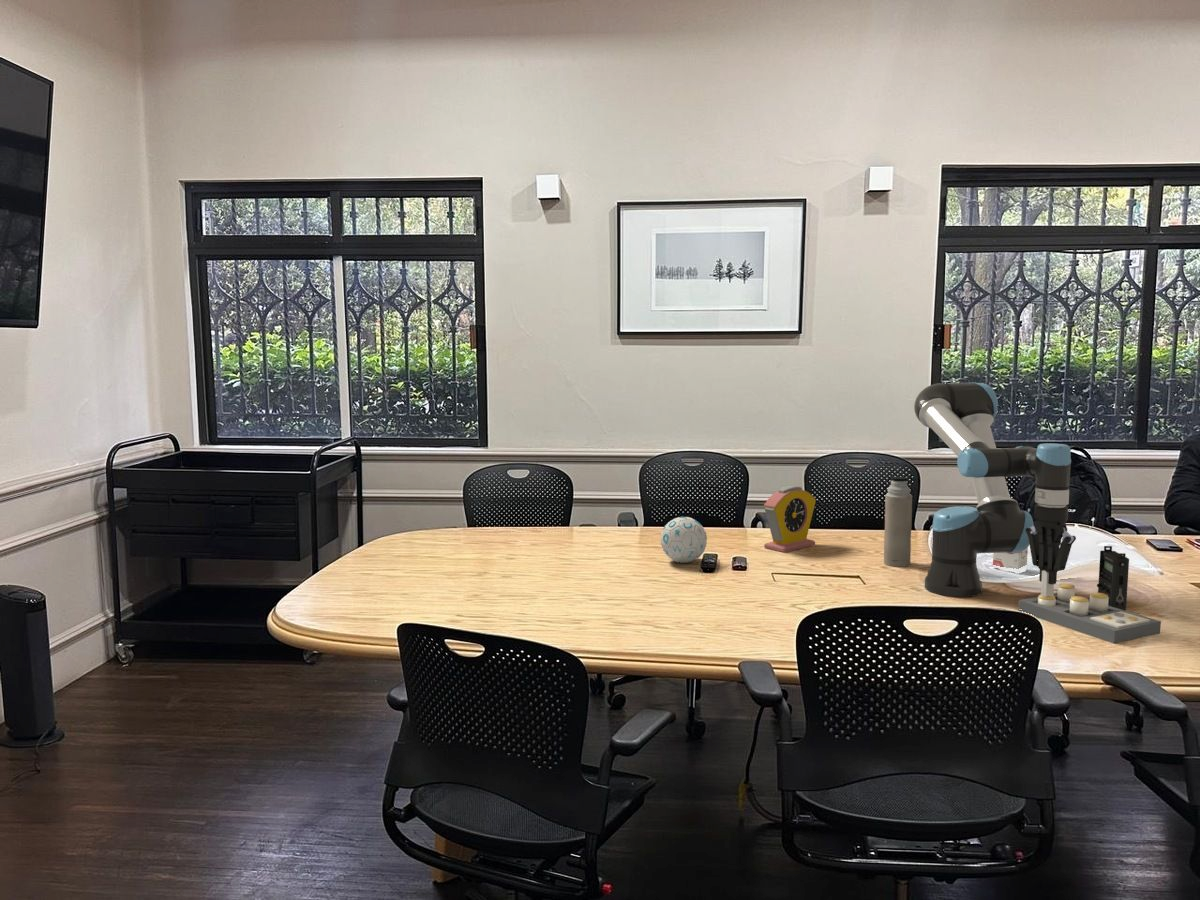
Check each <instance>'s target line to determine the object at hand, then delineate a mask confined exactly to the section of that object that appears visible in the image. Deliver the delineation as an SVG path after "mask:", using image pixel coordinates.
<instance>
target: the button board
mask: <svg viewBox="0 0 1200 900" xmlns="http://www.w3.org/2000/svg"><path fill="white" fill-rule="evenodd" d="M1053 596H1055V599H1056V604H1055V606H1050V607H1047V606H1044V605H1041V604H1038V597H1039V596H1036V597H1029V598H1024V599H1023V598H1022V599H1019V600H1018V612H1019V611H1023V612H1026V613H1029V614H1032V615H1034V616H1036V617H1035V618H1037V619H1040V620H1043V621H1046V622H1049V623H1052V624H1055V625H1058V626H1061V627H1063V628H1064V627H1065V628H1067V629H1069V630H1073V631H1076V632H1079V633H1082V634H1085V635H1088V636H1090V637H1094V638H1097V639H1099V640H1102V641H1106V642H1109V643H1111V644H1118V643H1122V642H1127V641H1131V640H1136V639H1140V638H1144V637H1149V636H1154V635H1159V634H1160V633H1161V624H1162V620H1158V619H1154V618H1151V617H1149V616H1144V615H1141V614H1139V613H1134V612H1131V611H1127V610H1125V611H1124V610H1121V609H1118V608H1114V607H1111V606H1108V612H1104V613H1099V612H1095V611H1092V610H1089V608H1088V616H1084V617H1079V616H1076V615H1073V614H1070V613H1069V610H1070V603H1066V602H1063V601H1059V600H1057V593H1054V595H1053ZM1088 601H1089V602H1090V599H1088ZM1019 609H1022V610H1019ZM1034 616H1033V617H1034Z"/></svg>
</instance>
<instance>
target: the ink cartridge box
mask: <svg viewBox="0 0 1200 900" xmlns="http://www.w3.org/2000/svg"><path fill="white" fill-rule="evenodd" d="M1028 548H1029V546H1028V547H1027V548H1026V549H1025V550H1023V551H1020V552H1012V553H992V566H993V565H996V566H1000V567H1006V568H1013V569H1014V568H1016V569H1019V568H1021V567H1023V566H1025V565H1027V566H1028V550H1029V549H1028Z"/></svg>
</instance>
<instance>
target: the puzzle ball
mask: <svg viewBox="0 0 1200 900" xmlns="http://www.w3.org/2000/svg"><path fill="white" fill-rule="evenodd" d="M660 535H661V536H660V543H661V548H662V551H663V552H664V554H665V555H666V556H667V557H668V558H669V559H670V560H672V561H674V562H676V563H679V562H680V563H681V564H683V563H684V564H687V563H688V564H689V563H692V562H694V561H696V560H697V559H699V558H700V557H701V556H702V555H703V554H704V552H705V550H706V547H707V543H708V542H707V540H708V538H707V532H706V531H705V529H704V527H703V525H702V524H701V523H700V522H699V521H697V520H696V519H694V518H692V517H690V516H678V517H675V518H673V519H670V521H668V522H667V523H666V524H665V525H664V527H663V528H662V532H661V533H660Z"/></svg>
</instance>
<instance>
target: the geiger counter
mask: <svg viewBox="0 0 1200 900" xmlns="http://www.w3.org/2000/svg"><path fill="white" fill-rule="evenodd" d="M1129 567H1130V558H1128V557H1127V556H1126V553H1125V552H1123V553H1122V552H1121V553H1119V552H1117V551H1116V550H1113V546H1112V545H1104V547H1103V550H1099V568H1098V569H1099V570H1098V583H1097V584H1096V587H1097V593H1104V594H1107V595H1108V597H1109V599H1108V606H1111V607H1114V608H1118V609H1121V610H1124V611H1127V603H1128V599H1127V598H1128V585H1129V584H1128V583H1129V570H1130V569H1129Z"/></svg>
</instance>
